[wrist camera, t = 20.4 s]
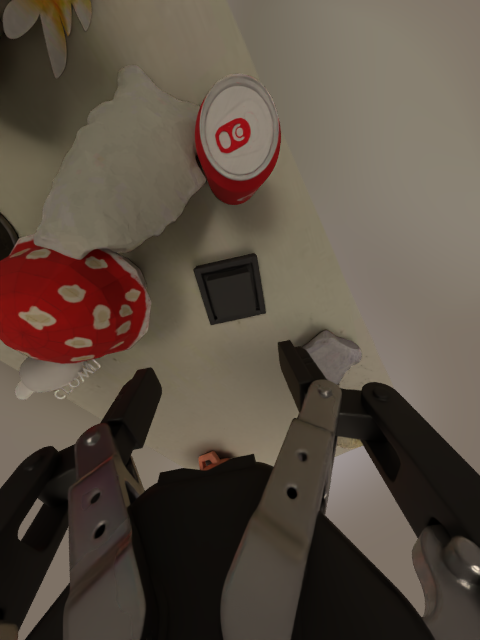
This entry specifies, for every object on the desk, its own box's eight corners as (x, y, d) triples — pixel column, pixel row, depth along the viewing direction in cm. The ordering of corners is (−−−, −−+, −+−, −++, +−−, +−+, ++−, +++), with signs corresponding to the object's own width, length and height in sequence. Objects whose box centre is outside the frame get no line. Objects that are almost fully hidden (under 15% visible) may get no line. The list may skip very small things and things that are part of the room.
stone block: (277, 365, 39) (318, 387, 40) (279, 380, 34) (326, 404, 35) (312, 317, 35) (357, 343, 36) (320, 326, 30) (371, 355, 31)
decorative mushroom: (176, 323, 31) (138, 398, 18) (85, 323, 30) (-28, 402, 17) (164, 229, 25) (94, 234, 12) (50, 224, 24) (-174, 223, 10)
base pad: (211, 318, 31) (210, 325, 29) (195, 266, 28) (193, 269, 25) (263, 307, 31) (266, 313, 29) (254, 252, 27) (256, 255, 25)
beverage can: (265, 192, 24) (298, 165, 13) (220, 214, 25) (217, 205, 14) (247, 130, 21) (269, 35, 11) (197, 157, 22) (171, 92, 11)
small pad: (218, 311, 30) (217, 319, 27) (208, 275, 27) (206, 281, 24) (253, 303, 29) (256, 311, 27) (247, 267, 27) (249, 271, 24)
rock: (124, 89, 21) (18, 243, 16) (108, 24, 17) (-41, 206, 12) (226, 147, 23) (157, 296, 19) (234, 103, 19) (148, 281, 14)
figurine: (46, 351, 34) (86, 392, 34) (-25, 373, 26) (29, 426, 26) (80, 306, 31) (124, 352, 31) (12, 316, 23) (72, 377, 23)
